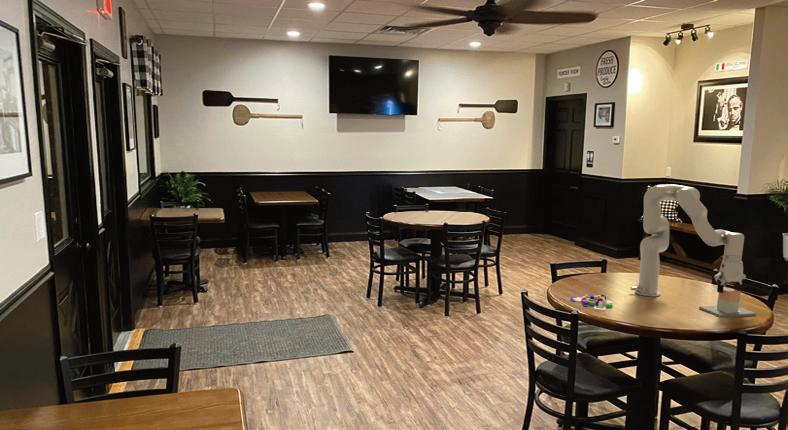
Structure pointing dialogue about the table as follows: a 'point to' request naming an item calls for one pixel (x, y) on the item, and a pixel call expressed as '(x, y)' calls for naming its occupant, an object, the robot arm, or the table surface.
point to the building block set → (594, 301)
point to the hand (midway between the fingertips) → (728, 292)
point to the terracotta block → (730, 295)
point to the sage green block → (727, 305)
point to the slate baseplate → (722, 314)
